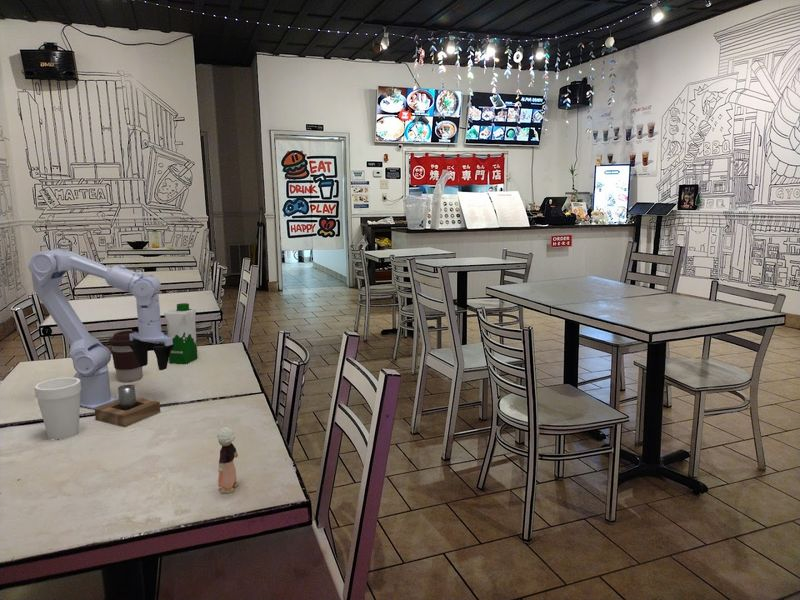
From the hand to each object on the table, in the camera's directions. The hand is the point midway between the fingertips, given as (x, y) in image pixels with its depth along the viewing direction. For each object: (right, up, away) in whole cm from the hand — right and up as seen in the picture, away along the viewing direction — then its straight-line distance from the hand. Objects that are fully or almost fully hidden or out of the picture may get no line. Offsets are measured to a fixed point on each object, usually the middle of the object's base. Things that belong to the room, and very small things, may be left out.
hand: (153, 367), depth 159 cm
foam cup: (-13, -14, -21) cm, 28 cm away
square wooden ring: (-3, -12, -9) cm, 15 cm away
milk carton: (-7, -3, +41) cm, 42 cm away
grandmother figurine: (+35, -19, -47) cm, 61 cm away
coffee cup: (-17, -6, +22) cm, 28 cm away
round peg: (-3, -12, -9) cm, 15 cm away
